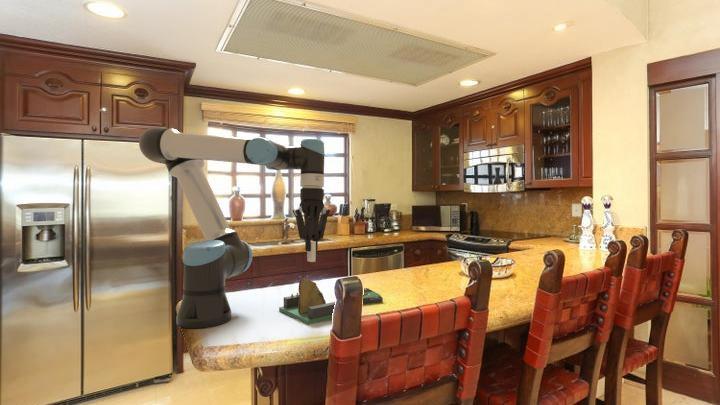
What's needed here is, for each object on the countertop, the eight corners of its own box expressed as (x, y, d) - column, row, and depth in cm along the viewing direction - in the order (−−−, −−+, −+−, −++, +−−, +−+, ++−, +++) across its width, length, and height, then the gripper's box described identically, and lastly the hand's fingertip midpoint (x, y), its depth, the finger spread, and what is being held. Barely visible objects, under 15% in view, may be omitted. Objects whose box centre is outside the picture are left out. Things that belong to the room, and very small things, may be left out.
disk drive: (342, 297, 141) (356, 306, 127) (342, 290, 141) (356, 298, 127) (367, 294, 145) (383, 303, 131) (367, 287, 145) (383, 295, 131)
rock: (324, 295, 125) (294, 294, 122) (330, 278, 121) (300, 276, 118) (327, 322, 117) (295, 321, 114) (333, 305, 112) (301, 303, 109)
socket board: (308, 324, 106) (308, 306, 106) (279, 310, 120) (279, 295, 120) (346, 315, 115) (346, 298, 115) (315, 303, 129) (315, 288, 129)
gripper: (300, 186, 111) (299, 264, 111) (335, 188, 119) (334, 261, 119) (288, 187, 117) (287, 261, 116) (322, 188, 125) (321, 258, 125)
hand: (311, 261), depth 118 cm, fingers closed
